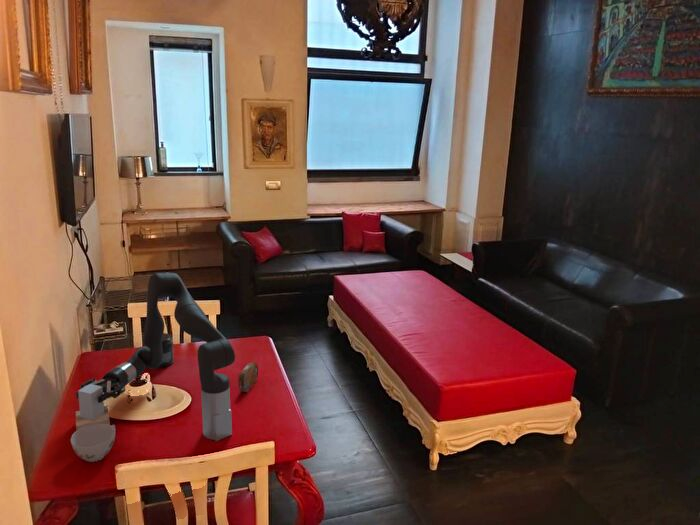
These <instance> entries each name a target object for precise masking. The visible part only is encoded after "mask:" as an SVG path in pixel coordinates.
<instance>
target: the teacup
mask: <svg viewBox="0 0 700 525" xmlns="http://www.w3.org/2000/svg"><path fill="white" fill-rule="evenodd" d="M115 438H116V425H115V424H112V425H111V424H110V425H108V424H92V425H87V426H85V427H82V428H80V429H78V430H77V429H76V431H74V433H73V434H72V435H71V438H70V443H71V447H72V449H73V451H74V453H75V454H76V455H77V456H78V457H79V458H80V459H82V460H85V461H87V462H91V463H95V461H96V462H99V461H101V460H102V459H104V458H105V456H106V455H107V454H108V453H109V452H110V450H111V449H112V447H113V445H114V442H115ZM98 460H99V461H98Z"/></svg>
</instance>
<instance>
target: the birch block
mask: <svg viewBox="0 0 700 525" xmlns="http://www.w3.org/2000/svg"><path fill="white" fill-rule="evenodd" d="M110 421H111V420H110V415H109V405H104V414H102V415H101V416H99V417H98V418H96V419H95V420H94V421H92V420H88V419H84V418H80V410H77V411H75V429H76V431H77V430H78V429H80V428H82V427H85V426H87V425H92V424H108V425H110V426H111V422H110Z"/></svg>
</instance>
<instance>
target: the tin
mask: <svg viewBox="0 0 700 525" xmlns="http://www.w3.org/2000/svg"><path fill="white" fill-rule="evenodd" d="M258 366H259V365H258V364H257V362H248V363H247V364H246V365H245V366H244V367H243V369H242V370H241V371H240V373H239V375H238V379H237V383H238V390H239V391H240V392H244V393H245V392H246V393H248V392H249V391H250V390H251V389H252V387H254V385H255V383H257V379H258V374H259V367H258Z"/></svg>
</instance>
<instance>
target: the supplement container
mask: <svg viewBox="0 0 700 525" xmlns="http://www.w3.org/2000/svg"><path fill="white" fill-rule="evenodd" d="M162 350H163V360H162V363H161V365H160V366H159V367H158V368H157V369H160V368H166V367H169V366H170V365H171V364H173V363H174V360H175V358H174V343H173V340H172V335H171V334H169V333H167V332H166V333H165V332H164V333H163V337H162Z"/></svg>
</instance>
